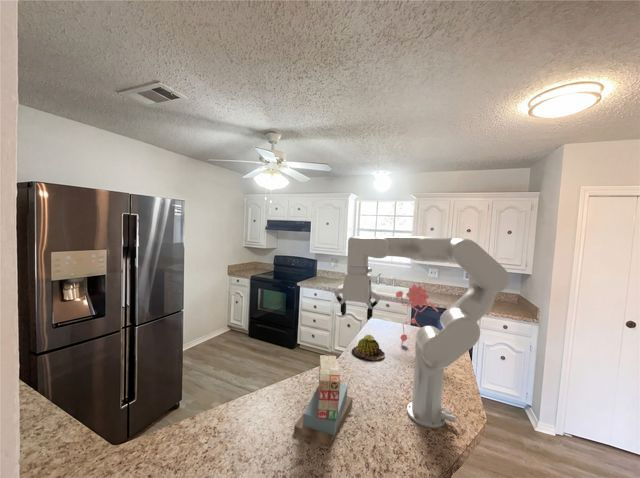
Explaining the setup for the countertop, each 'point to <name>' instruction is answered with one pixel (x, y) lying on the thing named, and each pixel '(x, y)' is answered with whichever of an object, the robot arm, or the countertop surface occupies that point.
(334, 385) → the stack of blocks
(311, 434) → the tower base slab
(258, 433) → the countertop surface
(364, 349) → the cactus
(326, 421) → the tower top slab
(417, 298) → the pink flower arrangement
